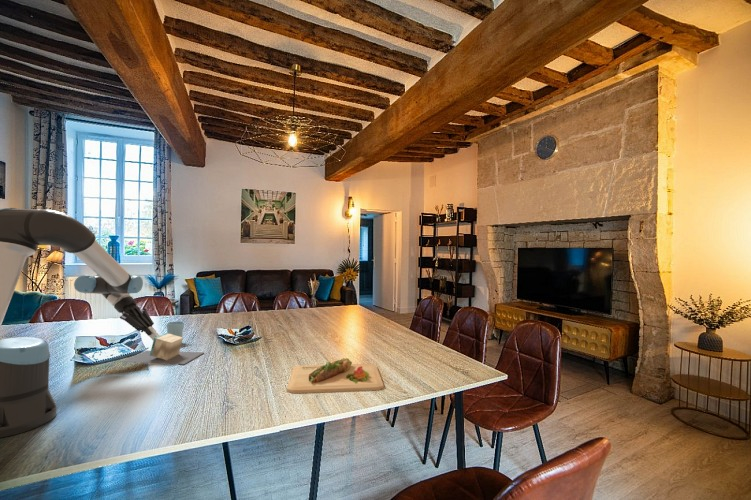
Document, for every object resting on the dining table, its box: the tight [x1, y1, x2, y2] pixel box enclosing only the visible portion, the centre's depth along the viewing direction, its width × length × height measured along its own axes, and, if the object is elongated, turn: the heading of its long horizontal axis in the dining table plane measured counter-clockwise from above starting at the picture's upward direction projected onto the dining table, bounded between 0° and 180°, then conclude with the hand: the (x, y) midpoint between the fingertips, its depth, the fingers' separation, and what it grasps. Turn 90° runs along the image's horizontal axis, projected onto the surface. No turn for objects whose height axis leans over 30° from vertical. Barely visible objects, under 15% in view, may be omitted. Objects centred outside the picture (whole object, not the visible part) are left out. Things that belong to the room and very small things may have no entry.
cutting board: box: [286, 357, 384, 394], centre depth 125 cm, size 35×23×8 cm
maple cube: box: [150, 332, 184, 360], centre depth 143 cm, size 8×8×8 cm
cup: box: [166, 320, 185, 337], centre depth 165 cm, size 8×8×10 cm
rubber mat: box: [120, 350, 205, 366], centre depth 143 cm, size 28×15×1 cm, turn 88°
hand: (157, 339), depth 143 cm, fingers closed
